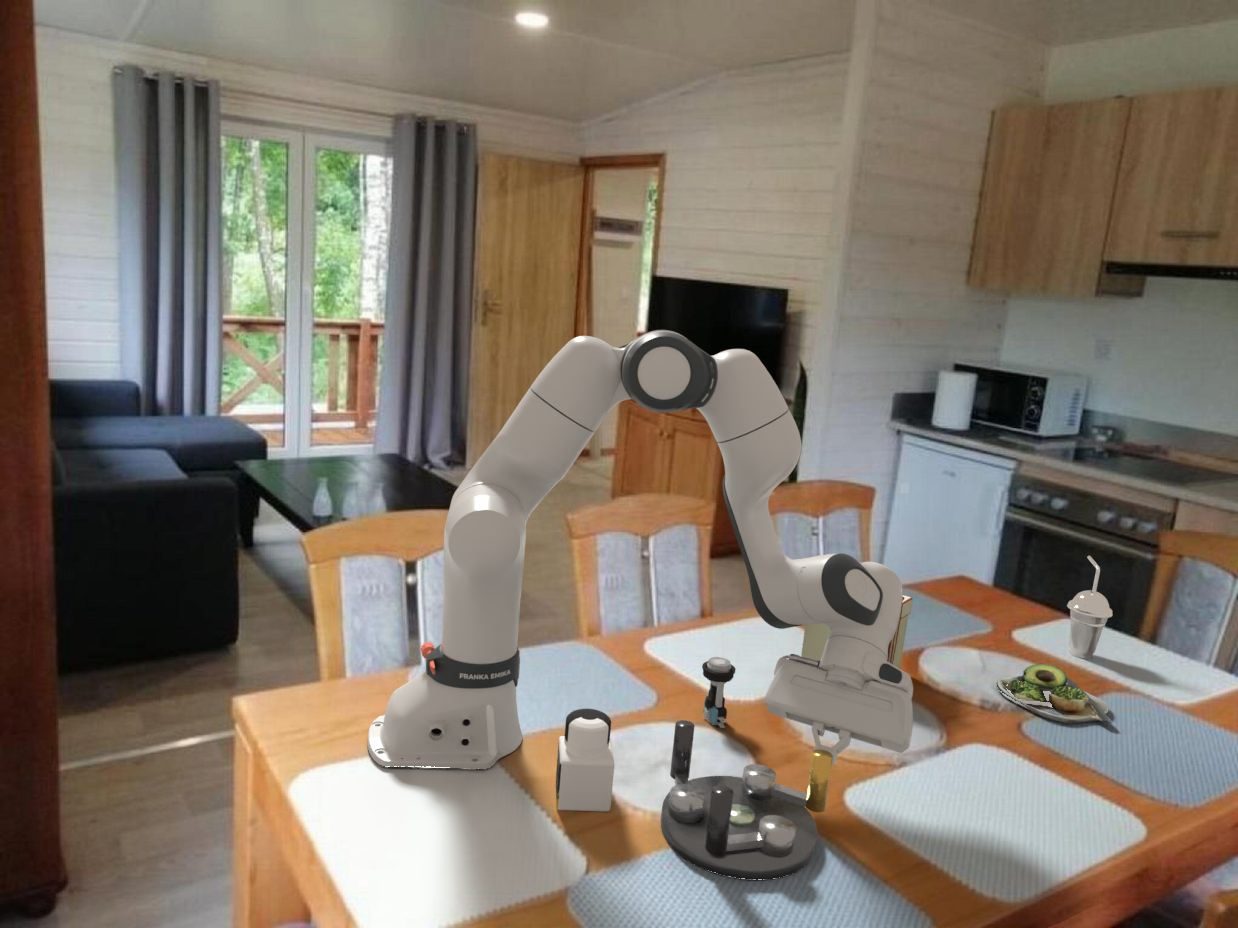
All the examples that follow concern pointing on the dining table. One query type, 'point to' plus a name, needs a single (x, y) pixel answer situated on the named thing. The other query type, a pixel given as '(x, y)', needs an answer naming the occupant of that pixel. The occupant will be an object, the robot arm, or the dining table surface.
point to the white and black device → (585, 763)
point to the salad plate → (1055, 695)
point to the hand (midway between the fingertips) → (823, 760)
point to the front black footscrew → (770, 838)
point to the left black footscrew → (684, 777)
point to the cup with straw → (1087, 619)
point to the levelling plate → (743, 820)
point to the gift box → (819, 632)
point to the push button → (717, 688)
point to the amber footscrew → (763, 787)
